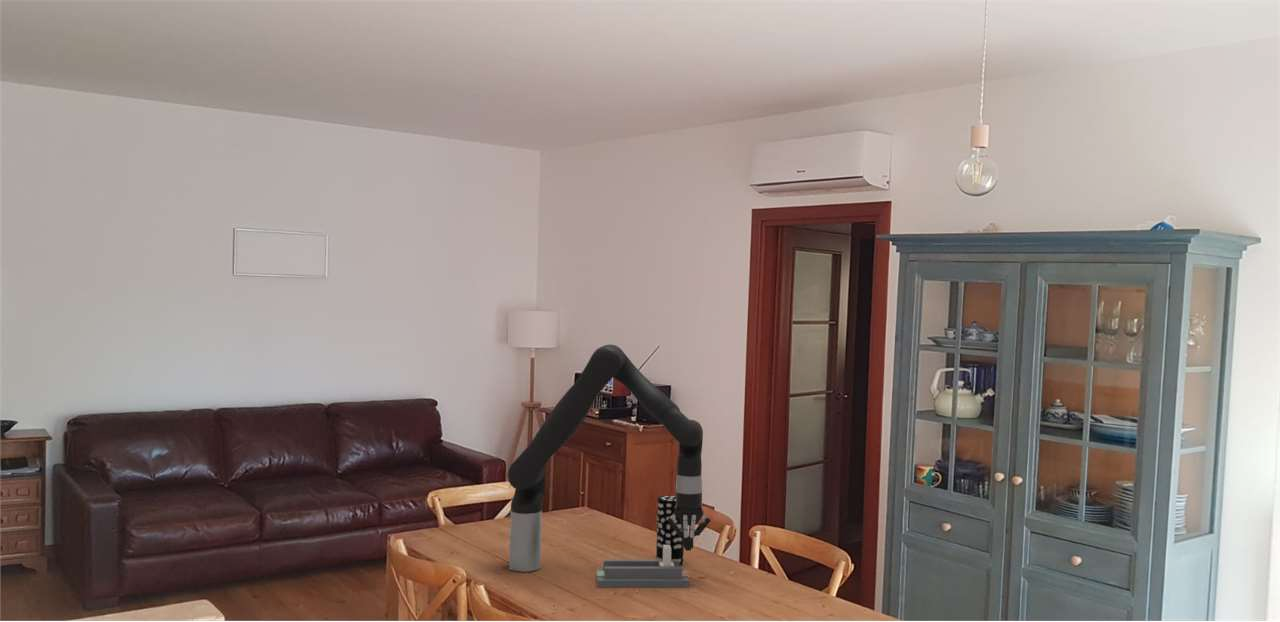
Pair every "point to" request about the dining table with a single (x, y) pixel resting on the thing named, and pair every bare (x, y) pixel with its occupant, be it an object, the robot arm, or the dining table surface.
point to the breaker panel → (641, 574)
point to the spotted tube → (668, 529)
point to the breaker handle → (666, 556)
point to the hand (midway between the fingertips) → (688, 549)
